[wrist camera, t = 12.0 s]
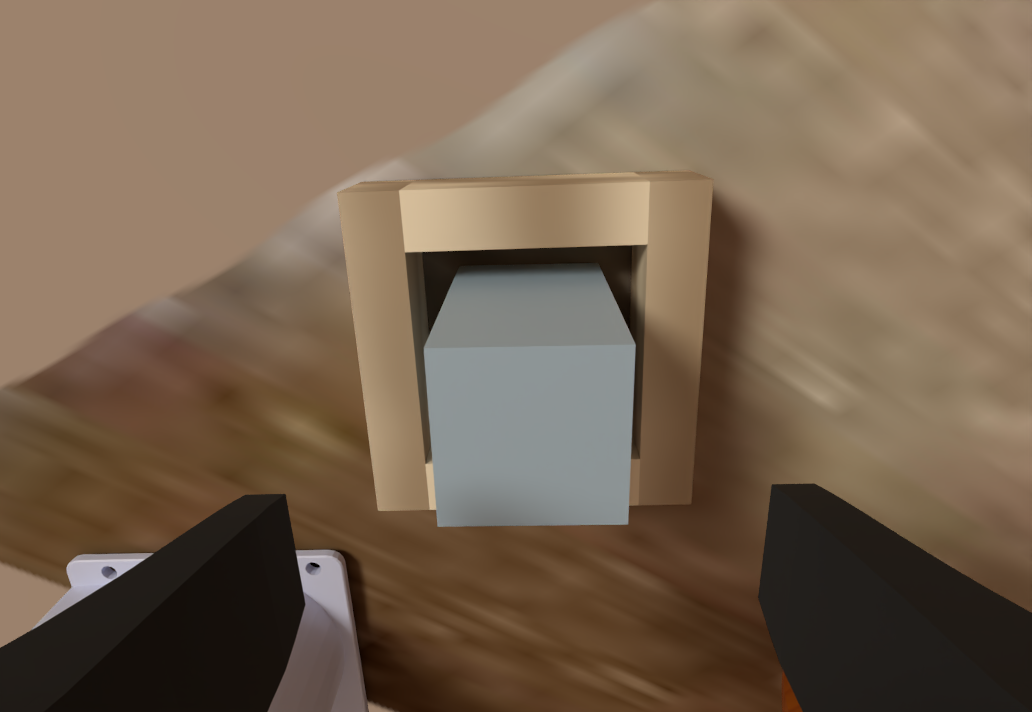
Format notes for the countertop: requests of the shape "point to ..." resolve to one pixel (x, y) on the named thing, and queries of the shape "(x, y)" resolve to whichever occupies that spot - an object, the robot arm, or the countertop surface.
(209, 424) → the countertop surface
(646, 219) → the birch well block
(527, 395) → the slate square peg
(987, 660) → the robot arm
